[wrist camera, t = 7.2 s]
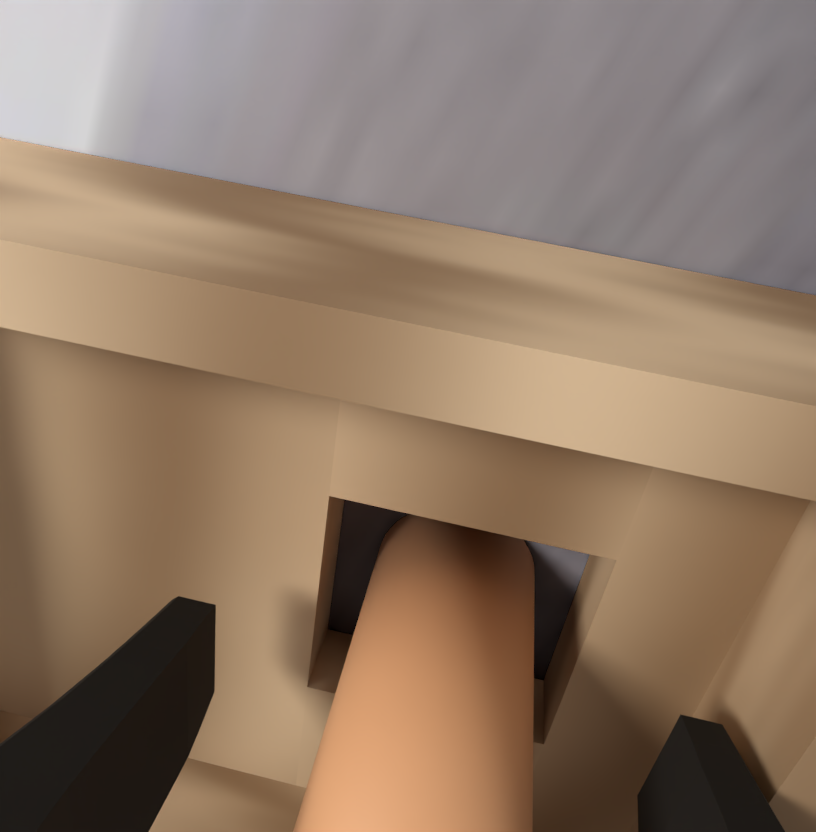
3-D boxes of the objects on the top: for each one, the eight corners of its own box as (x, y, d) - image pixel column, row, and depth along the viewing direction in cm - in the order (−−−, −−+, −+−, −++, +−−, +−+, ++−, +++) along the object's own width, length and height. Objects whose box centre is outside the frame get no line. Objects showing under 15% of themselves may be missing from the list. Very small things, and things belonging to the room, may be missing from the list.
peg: (367, 604, 14) (205, 1149, 7) (393, 488, 13) (218, 1037, 6) (511, 642, 14) (484, 1236, 7) (554, 528, 13) (573, 1141, 6)
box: (-7, 671, 17) (-143, 831, 14) (-130, 112, 11) (-442, 149, 7) (634, 832, 16) (660, 1049, 13) (922, 316, 10) (1132, 471, 6)
